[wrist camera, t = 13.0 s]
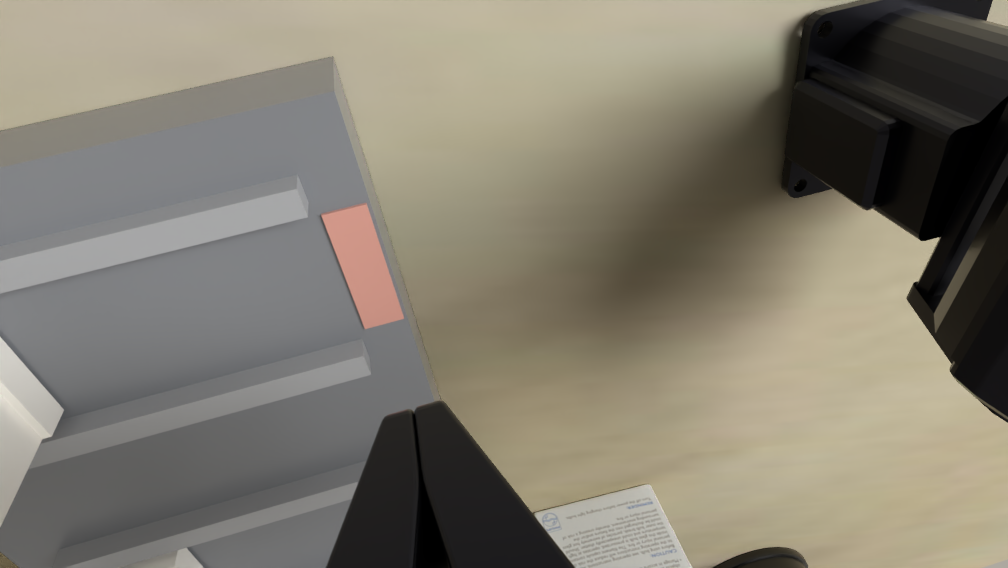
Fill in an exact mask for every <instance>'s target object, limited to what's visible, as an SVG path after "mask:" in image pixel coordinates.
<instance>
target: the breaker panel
mask: <svg viewBox="0 0 1008 568" xmlns="http://www.w3.org/2000/svg"><path fill="white" fill-rule="evenodd" d="M0 337H1V338H2V339H3V340H4V342H5V343H6V344H7V345H8V346H9V347H10V348H11V350H12V351H13V352H14V353H15V354H16V355H17V356H18V358H19V359H20V360H21V361H22V362H23V363H24V365H25V366H26V367H27V368H28V369H29V370H30V371H31V373H32V374H33V375H34V376H35V377H36V378H37V379H38V381H39V382H40V383H41V384H42V385H43V386H44V387H45V389H46V390H47V391H48V392H49V393H50V394H51V395H52V397H53V398H54V399H55V400H56V401H57V402H58V403H59V405H60V406H61V407H62V408H63V409H64V411H63V414H62V416H61V418H60V420H59V422H58V424H57V427H56V429H55V431H54V433H53V435H52V437H48V438H45V439H42V441H41V443H40V445H39V447H38V449H37V451H36V454H35V456H34V458H33V460H32V462H31V464H30V466H29V468H28V470H27V472H26V475H25V477H24V479H23V481H22V483H21V485H20V487H19V489H18V491H17V493H16V495H15V498H14V500H13V502H12V504H11V506H10V508H9V510H8V512H7V514H6V516H5V518H4V521H3V523H2V525H1V527H0V552H1V553H2V554H3V555H5V556H6V557H7V558H8V559H9V560H11V561H12V562H13V563H14V564H16V565H17V566H18V567H19V568H119V567H123V566H126V565H129V564H133V563H136V562H140V561H143V560H146V559H150V558H153V557H157V556H160V555H163V554H167V553H170V552H174V551H177V550H180V549H184V548H187V549H188V550H189V551H190V552H191V554H192V555H193V556H194V557H195V558H196V559H197V560H198V562H199V563H200V564H201V565H202V566H203V567H204V568H326V565H327V563H328V560H329V558H330V555H331V552H332V550H333V547H334V544H335V542H336V539H337V537H338V534H339V531H340V529H341V526H342V524H343V521H344V518H345V516H346V513H347V510H348V508H349V505H350V503H351V500H352V497H353V495H354V492H355V489H356V487H357V484H358V482H359V479H360V476H361V474H362V471H363V468H364V466H365V463H366V461H367V458H368V455H369V453H370V450H371V448H372V445H373V442H374V440H375V437H376V434H377V432H378V429H379V427H380V424H381V422H382V419H383V418H384V417H385V416H386V415H389V414H392V413H396V412H399V411H403V410H406V409H411V410H413V411H415V408H416V407H418V406H421V405H424V404H428V403H431V402H435V401H439V400H441V399H440V396H439V392H438V389H437V386H436V383H435V380H434V377H433V373H432V370H431V367H430V364H429V361H428V357H427V354H426V351H425V348H424V345H423V341H422V338H421V335H420V332H419V329H418V326H417V322H416V319H415V316H414V313H413V310H412V306H411V303H410V300H409V297H408V294H407V291H406V287H405V284H404V281H403V278H402V275H401V271H400V268H399V265H398V262H397V259H396V255H395V252H394V249H393V246H392V243H391V240H390V236H389V233H388V230H387V227H386V224H385V220H384V217H383V214H382V211H381V208H380V205H379V201H378V198H377V195H376V192H375V189H374V185H373V182H372V179H371V176H370V173H369V169H368V166H367V163H366V160H365V157H364V154H363V150H362V147H361V144H360V141H359V138H358V134H357V131H356V128H355V125H354V122H353V119H352V115H351V112H350V109H349V106H348V103H347V99H346V96H345V93H344V90H343V87H342V83H341V80H340V77H339V74H338V71H337V68H336V64H335V61H334V58H333V57H329V58H324V59H320V60H315V61H311V62H306V63H302V64H298V65H293V66H289V67H284V68H280V69H275V70H271V71H266V72H262V73H257V74H253V75H248V76H244V77H239V78H235V79H230V80H226V81H222V82H217V83H213V84H208V85H204V86H199V87H195V88H190V89H186V90H181V91H177V92H172V93H168V94H163V95H159V96H154V97H150V98H146V99H141V100H137V101H132V102H128V103H123V104H119V105H114V106H110V107H105V108H101V109H96V110H92V111H87V112H83V113H79V114H74V115H70V116H65V117H61V118H56V119H52V120H47V121H43V122H38V123H34V124H29V125H25V126H20V127H16V128H11V129H7V130H3V131H0Z"/></svg>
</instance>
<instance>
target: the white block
mask: <svg viewBox="0 0 1008 568" xmlns="http://www.w3.org/2000/svg"><path fill="white" fill-rule="evenodd" d="M63 411H64V409H63V408H62V407H61V406H60V405H59V403H58V402H57V401H56V400H55V399H54V398H53V397H52V395H51V394H50V393H49V392H48V391H47V390H46V389H45V387H44V386H43V385H42V384H41V383H40V382H39V381H38V379H37V378H36V377H35V376H34V375H33V374H32V373H31V371H30V370H29V369H28V368H27V367H26V366H25V365H24V363H23V362H22V361H21V360H20V359H19V358H18V356H17V355H16V354H15V353H14V352H13V351H12V350H11V348H10V347H9V346H8V345H7V344H6V343H5V342H4V340H3V339H2V338H1V337H0V527H1V525H2V523H3V521H4V518H5V516H6V514H7V512H8V510H9V508H10V506H11V504H12V502H13V500H14V498H15V495H16V493H17V491H18V489H19V487H20V485H21V483H22V481H23V479H24V477H25V475H26V472H27V470H28V468H29V466H30V464H31V462H32V460H33V458H34V456H35V454H36V451H37V449H38V447H39V445H40V443H41V441H42V439H45V438H48V437H52V435H53V433H54V431H55V429H56V427H57V424H58V422H59V420H60V418H61V416H62V414H63Z"/></svg>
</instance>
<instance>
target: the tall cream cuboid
mask: <svg viewBox="0 0 1008 568" xmlns="http://www.w3.org/2000/svg"><path fill="white" fill-rule="evenodd" d="M119 568H204V567H203V566H202V565H201V564H200V563H199V562H198V560H197V559H196V558H195V557H194V556H193V555H192V554H191V552H190V551H189V550H188V549H187V548H184V549H180V550H177V551H174V552H170V553H167V554H163V555H160V556H157V557H153V558H150V559H146V560H143V561H140V562H136V563H133V564H129V565H126V566H123V567H119Z"/></svg>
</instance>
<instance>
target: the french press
mask: <svg viewBox="0 0 1008 568" xmlns="http://www.w3.org/2000/svg"><path fill="white" fill-rule="evenodd" d="M715 568H808V565H807V563H806V561H805V559H804V557H803V556H802V555H801V554H800V553H798V552H797V551H795V550H792V549H789V548H780V547H777V548H766V549H761V550H756V551H752V552H749V553H746V554H743V555H740V556H738V557H735V558H733V559H730V560H728V561H726V562H724V563H722V564H720V565H719V566H717V567H715Z"/></svg>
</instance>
